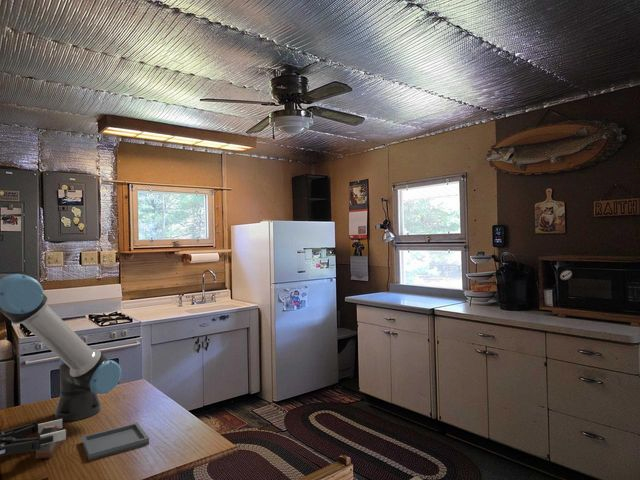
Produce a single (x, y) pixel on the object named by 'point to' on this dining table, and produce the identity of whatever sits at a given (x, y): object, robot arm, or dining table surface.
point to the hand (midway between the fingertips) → (63, 428)
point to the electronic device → (49, 448)
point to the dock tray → (114, 441)
